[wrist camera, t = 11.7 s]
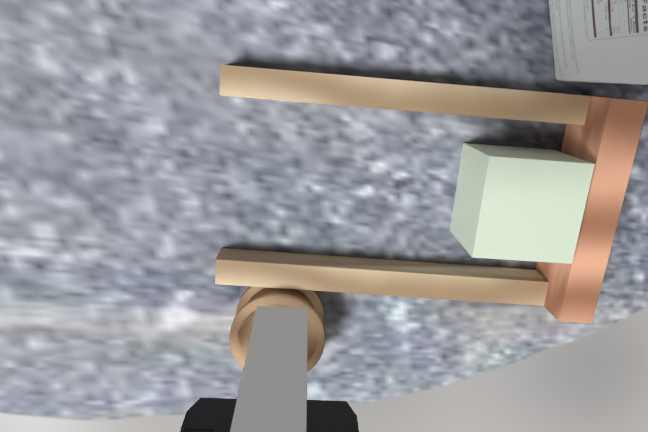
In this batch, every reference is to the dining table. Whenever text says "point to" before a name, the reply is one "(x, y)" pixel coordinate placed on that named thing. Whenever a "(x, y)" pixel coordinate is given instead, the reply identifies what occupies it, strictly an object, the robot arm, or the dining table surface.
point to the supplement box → (600, 40)
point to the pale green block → (520, 203)
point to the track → (454, 279)
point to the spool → (277, 299)
